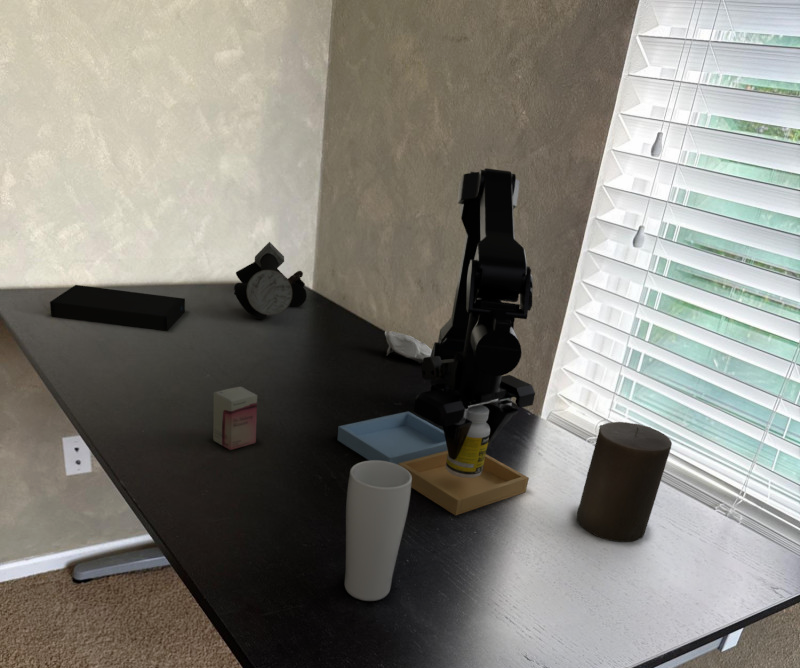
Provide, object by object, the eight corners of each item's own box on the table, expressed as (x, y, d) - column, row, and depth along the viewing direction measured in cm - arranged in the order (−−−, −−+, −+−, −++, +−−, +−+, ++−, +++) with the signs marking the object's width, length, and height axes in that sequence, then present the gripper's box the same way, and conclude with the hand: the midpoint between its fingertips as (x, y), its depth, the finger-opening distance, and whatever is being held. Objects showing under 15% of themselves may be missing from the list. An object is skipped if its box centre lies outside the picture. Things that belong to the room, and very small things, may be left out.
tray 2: (466, 458, 128) (468, 444, 127) (525, 492, 120) (529, 477, 119) (396, 477, 119) (398, 463, 118) (455, 515, 111) (458, 500, 110)
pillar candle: (641, 549, 109) (673, 448, 102) (569, 529, 112) (596, 429, 104) (647, 518, 117) (678, 423, 110) (581, 501, 120) (606, 406, 112)
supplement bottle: (479, 482, 116) (491, 418, 111) (442, 474, 117) (453, 411, 112) (484, 466, 121) (495, 405, 116) (448, 459, 121) (458, 398, 116)
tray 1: (406, 424, 137) (408, 411, 136) (458, 453, 129) (460, 439, 128) (337, 440, 128) (338, 426, 127) (388, 472, 120) (389, 458, 119)
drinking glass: (337, 572, 96) (348, 457, 88) (393, 575, 97) (409, 461, 89) (338, 606, 90) (350, 486, 83) (398, 608, 91) (416, 490, 83)
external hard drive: (77, 298, 175) (76, 284, 173) (185, 312, 176) (185, 298, 174) (51, 316, 162) (49, 301, 161) (167, 331, 163) (167, 316, 162)
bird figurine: (382, 365, 165) (429, 364, 162) (380, 330, 163) (428, 329, 160) (391, 363, 169) (436, 362, 166) (389, 330, 168) (435, 328, 164)
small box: (230, 451, 120) (230, 401, 116) (212, 440, 122) (212, 391, 118) (257, 443, 123) (258, 394, 119) (239, 433, 126) (240, 385, 122)
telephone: (280, 353, 177) (278, 310, 202) (321, 313, 173) (314, 274, 198) (226, 302, 169) (231, 264, 194) (268, 259, 166) (268, 226, 191)
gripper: (490, 325, 120) (472, 422, 128) (394, 339, 109) (381, 445, 117) (547, 349, 113) (525, 450, 121) (451, 366, 102) (433, 477, 110)
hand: (466, 454), depth 117 cm, fingers closed on supplement bottle, 5 cm apart
